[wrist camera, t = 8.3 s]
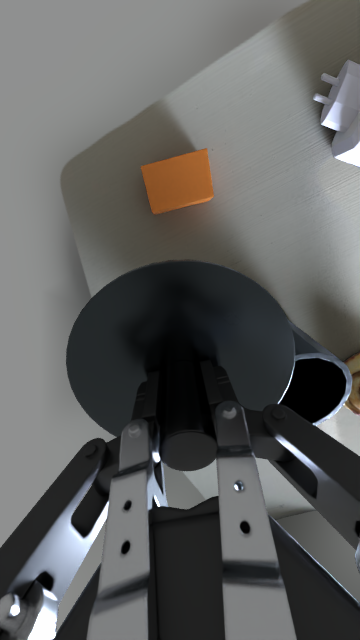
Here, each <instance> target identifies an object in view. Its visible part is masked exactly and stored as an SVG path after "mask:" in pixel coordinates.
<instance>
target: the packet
mask: <svg viewBox="0 0 360 640" xmlns="http://www.w3.org/2000/svg"><path fill="white" fill-rule="evenodd" d="M141 171H142V175H143V179H144V183H145V186H146V190H147V194H148V198H149V202H150V206H151V210H152V213H153V214H154V215H156V214H160V213H164V212H168V211H172V210H176V209H180V208H183V207H187V206H191V205H195V204H199V203H203V202H207V201H209V200H210V199H211V198H213V197H214V194H213V187H212V180H211V173H210V166H209V159H208V152H207V148H205V149H202V150H198V151H194V152H191V153H187V154H183V155H180V156H176V157H172V158H169V159H165V160H162V161H158V162H154V163H151V164H147V165H143V166H141Z"/></svg>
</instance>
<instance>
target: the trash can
mask: <svg viewBox="0 0 360 640" xmlns="http://www.w3.org/2000/svg"><path fill="white" fill-rule="evenodd" d="M288 321H289V320H288ZM289 324H290V326H291V329H292V333H293V337H294V343H295V365H294V369H293V374H292V378H291V380H290V383H289V386H288V388H287V390H286V392H285V394H284V395H283V397H282V399H281V400H280V402H279V403H278V404H282V405H285V406H287V407H288V408H290V409H291V410H293V411H294V412H296V413H297V414H299V415H300V416H302V417H303V418H304V419H306V420H307V421H309V422H310V423H312V424H313V425H315V426H316V425H318V424H320V423H322V422H324V421H325V420H327V419H329V418H331V417H332V416H333V415H334V414H335V413H336V412H337V411H338V410H339V409H340V408H341V407H342V406H343V405H344V403H345V402H346V400H347V398H348V396H349V394H350V392H351V387H352V376H351V374H350V371H349V368H348V366H347V365H346V364H345V363H344V362H342V361H341V360H340V359H339V358H337V357H336V356H335V355H334V354H332V353H331V352H330V351H328V350H327V349H326V348H324V347H323V346H322V345H320V344H319V343H318V342H317V341H315V340H314V339H313V338H311V337H310V336H309V335H307V334H306V333H305V332H303V331H302V330H301V329H299V328H298V327H297V326H296V325H294V324H293V323H292V322H290V321H289Z"/></svg>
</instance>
